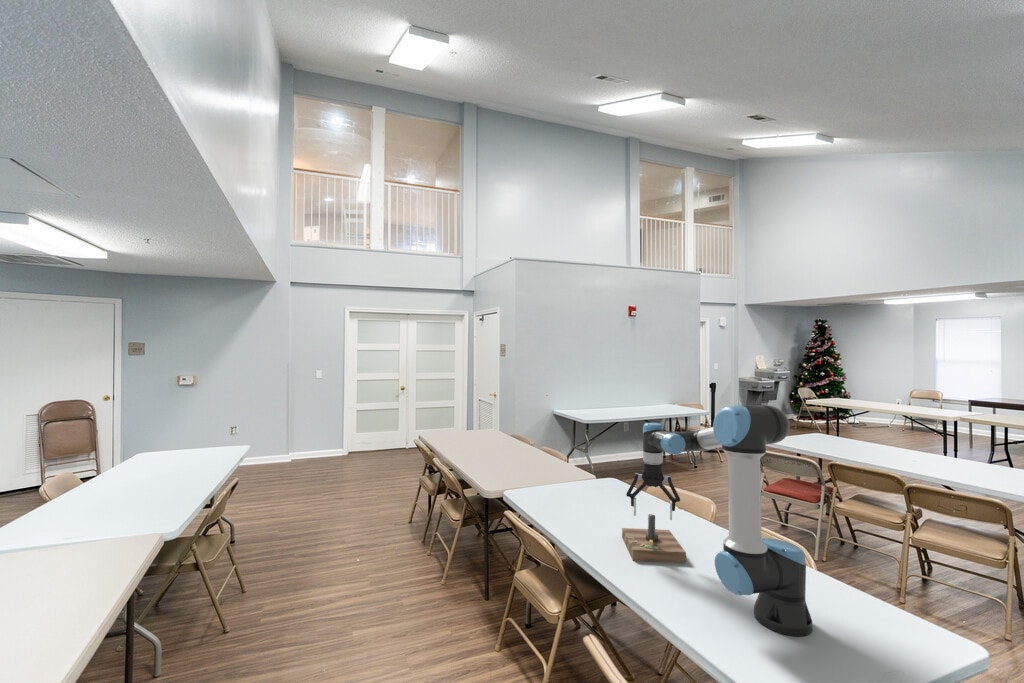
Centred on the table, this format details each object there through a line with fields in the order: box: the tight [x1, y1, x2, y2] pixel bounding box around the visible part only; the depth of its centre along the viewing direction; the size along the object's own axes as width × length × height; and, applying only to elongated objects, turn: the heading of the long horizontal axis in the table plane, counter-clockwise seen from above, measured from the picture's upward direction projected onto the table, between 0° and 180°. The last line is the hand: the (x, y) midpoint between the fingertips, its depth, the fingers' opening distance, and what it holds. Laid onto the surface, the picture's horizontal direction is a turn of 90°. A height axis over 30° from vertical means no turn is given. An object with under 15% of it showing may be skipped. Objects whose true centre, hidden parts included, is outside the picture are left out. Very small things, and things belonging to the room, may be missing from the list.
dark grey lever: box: [646, 514, 659, 545], centre depth 182 cm, size 5×12×11 cm, turn 161°
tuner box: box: [621, 527, 687, 564], centre depth 185 cm, size 22×20×4 cm
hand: (652, 516), depth 179 cm, fingers open, 13 cm apart
